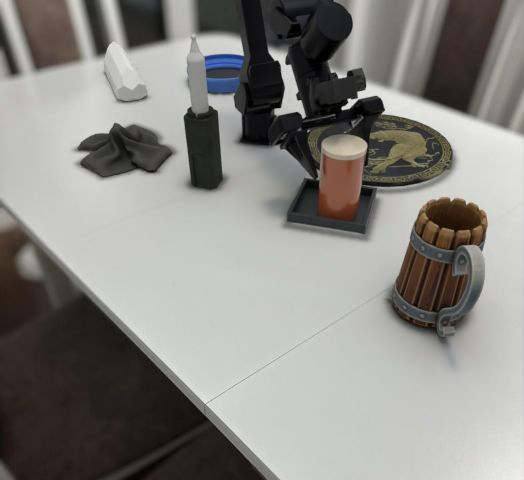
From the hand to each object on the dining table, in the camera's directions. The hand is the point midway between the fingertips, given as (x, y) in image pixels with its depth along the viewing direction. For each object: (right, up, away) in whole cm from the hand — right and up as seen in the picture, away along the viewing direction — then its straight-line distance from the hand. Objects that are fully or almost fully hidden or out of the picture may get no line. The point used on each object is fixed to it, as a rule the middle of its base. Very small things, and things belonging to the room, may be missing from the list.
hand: (341, 172), depth 86 cm
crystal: (-47, +38, +48) cm, 77 cm away
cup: (0, -5, +5) cm, 7 cm away
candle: (-23, +3, +15) cm, 28 cm away
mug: (+11, -24, -11) cm, 29 cm away
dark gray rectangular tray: (-1, -5, +7) cm, 8 cm away
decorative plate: (+10, +11, +22) cm, 27 cm away
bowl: (-23, +40, +49) cm, 67 cm away
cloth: (-41, +12, +24) cm, 49 cm away
